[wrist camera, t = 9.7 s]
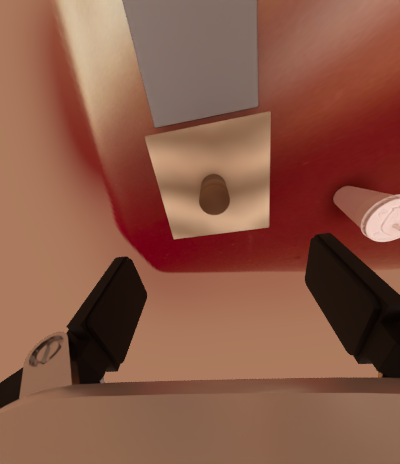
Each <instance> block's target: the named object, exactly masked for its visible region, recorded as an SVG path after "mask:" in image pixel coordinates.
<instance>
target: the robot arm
mask: <svg viewBox="0 0 400 464" xmlns="http://www.w3.org/2000/svg"><path fill="white" fill-rule="evenodd" d="M305 282H306V285H307V287H308V289H309V290H310V292H311V293H312V295H313V297H314V298H315V300H316V302H317V303H318V305H319V307H320V308H321V310H322V312H323V313H324V315H325V316H326V318H327V320H328V321H329V323H330V325H331V326H332V328H333V330H334V331H335V333H336V335H337V336H338V338H339V340H340V341H341V343H342V345H343V346H344V348H345V350H346V351H347V352H348V353H349V354H350V355H353V356H354V357H355V359H356V361H357V362H358V364H373V365H374V367H375V368H376V369H377V371H378V378H290V379H289V378H287V379H237V380H196V381H195V380H194V381H155V382H121V383H105V382H104V378H103V376H104V374H105V372H111V371H112V372H113V371H118V369H119V366H120V364H121V363H123V361H124V359H125V357H126V354H127V351H128V349H129V346H130V343H131V340H132V338H133V335H134V332H135V329H136V327H137V324H138V321H139V318H140V316H141V313H142V310H143V307H144V305H145V302H146V299H147V292H146V290H145V288H144V285H143V283H142V281H141V279H140V277H139V274H138V272H137V270H136V268H135V266H134V263H133V261H132V260H131V259H129V258H128V257H118V258H115V259H114V261H113V262H112V264H111V265H110V266H109V268H108V269H107V271H106V272H105V274H104V275H103V276H102V278H101V279H100V281H99V282H98V283H97V285H96V286H95V288H94V289H93V290H92V292H91V293H90V295H89V296H88V297H87V299H86V300H85V302H84V303H83V304H82V306H81V307H80V309H79V310H78V311H77V313H76V314H75V316H74V317H73V319H72V320H71V321H70V323H69V324H68V325H67V327H68V329H69V330H68V332H67V333H64V332H56V333H53V334H51V335H49V336H47V337H46V338H44V339H43V340H41V341H40V342H39V343H38V344H37V345H36V346H35V347H34V348H33V349H32V350H31V351H30V353H29V354H28V356H27V357H26V359H25V362H24V367H23V368H21V369H20V370H19V371H17V372H16V373H14V374H13V375H11V376H10V377H8V378H7V379H5V380H4V381H2V382H1V383H0V464H400V295H399V294H398V293H397V292H396V291H394V289H392V288H391V287H390V286H389V285H388V284H387V283H386V282H385V281H383V280H382V279H381V278H380V277H379V276H378V275H377V274H376V273H375V272H373V271H372V270H371V269H370V268H369V267H368V266H367V265H366V264H364V263H363V262H362V261H361V260H360V259H359V258H358V257H357V256H355V255H354V254H353V253H352V252H351V251H350V250H349V249H348V248H347V247H345V246H344V245H343V244H342V243H341V242H340V241H339V240H338V239H336V238H335V237H334V236H333V235H332V234H330V233H325V234H317V235H315V237H314V238H312V239H311V242H310V249H309V255H308V262H307V268H306V275H305Z"/></svg>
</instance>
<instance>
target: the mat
mask: <svg viewBox="0 0 400 464" xmlns="http://www.w3.org/2000/svg"><path fill="white" fill-rule="evenodd" d="M122 1H123V5H124V9H125V13H126V17H127V20H128V24H129V28H130V32H131V36H132V40H133V44H134V48H135V52H136V56H137V60H138V63H139V67H140V71H141V75H142V79H143V83H144V87H145V91H146V95H147V99H148V103H149V106H150V110H151V114H152V118H153V122H154V126H155V128H158V127H162V126H167V125H172V124H177V123H182V122H187V121H192V120H197V119H201V118H206V117H211V116H216V115H221V114H226V113H231V112H235V111H240V110H245V109H250V108H255V107H258V57H257V0H122Z"/></svg>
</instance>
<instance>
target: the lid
mask: <svg viewBox="0 0 400 464" xmlns="http://www.w3.org/2000/svg"><path fill="white" fill-rule="evenodd" d="M270 128H271V111H269V112H264V113H259V114H254V115H249V116H244V117H239V118H234V119H229V120H224V121H219V122H214V123H209V124H204V125H199V126H194V127H189V128H184V129H180V130H175V131H170V132H165V133H160V134H155V135H150V136H145V140H146V144H147V147H148V151H149V154H150V158H151V161H152V165H153V168H154V172H155V175H156V179H157V182H158V186H159V189H160V193H161V196H162V200H163V203H164V207H165V210H166V214H167V217H168V221H169V224H170V228H171V231H172V235H173V238H174V239H180V238H187V237H195V236H203V235H211V234H219V233H227V232H235V231H243V230H251V229H259V228H267V227H269V195H270Z"/></svg>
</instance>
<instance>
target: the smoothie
mask: <svg viewBox="0 0 400 464" xmlns="http://www.w3.org/2000/svg"><path fill="white" fill-rule="evenodd" d="M333 202H334V204H335V205H336V206H338V207H339V208H340V209H341V210H342V211H343V212H344V213H345V214H346V215H347V216H348V217H349V218H350V219H351V220H353V221H354V222H355V223H356V224H357V225H358V226H359V227H360V228H361V231H362V233H363V234H364V235H365V236H367V237H369V238H370V239H372V240H374V241H378V242H386V241H392V240H395V239H398V238H400V195H391V194H386V193H381V192H377V191H372V190H368V189H363V188H358V187H354V186H345V187H342V188H340V189H339V190H338V191H337V192H336V193H335V195H334V198H333Z"/></svg>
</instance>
